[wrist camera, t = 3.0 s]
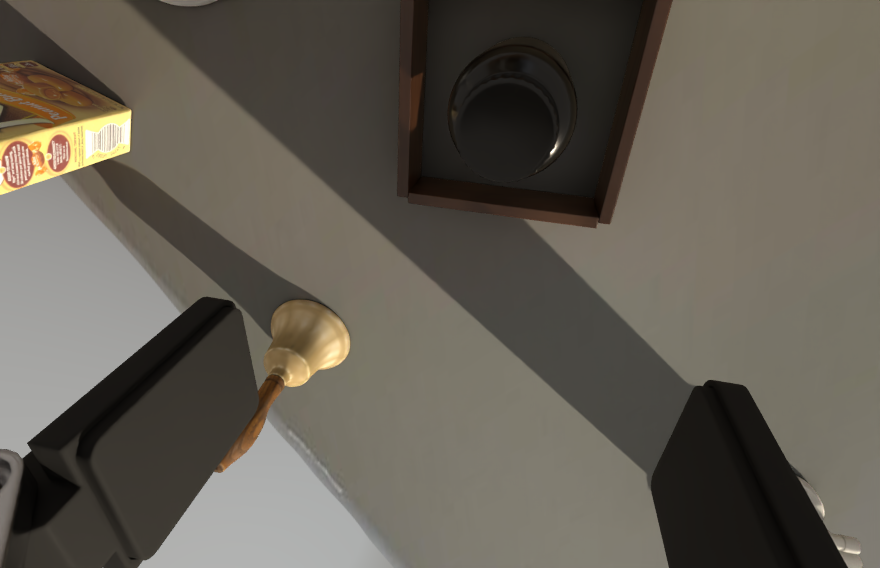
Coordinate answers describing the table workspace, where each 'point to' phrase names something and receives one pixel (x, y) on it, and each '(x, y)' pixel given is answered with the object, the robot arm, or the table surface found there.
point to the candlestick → (188, 2)
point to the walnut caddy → (516, 199)
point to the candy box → (54, 125)
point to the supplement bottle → (513, 110)
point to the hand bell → (293, 359)
